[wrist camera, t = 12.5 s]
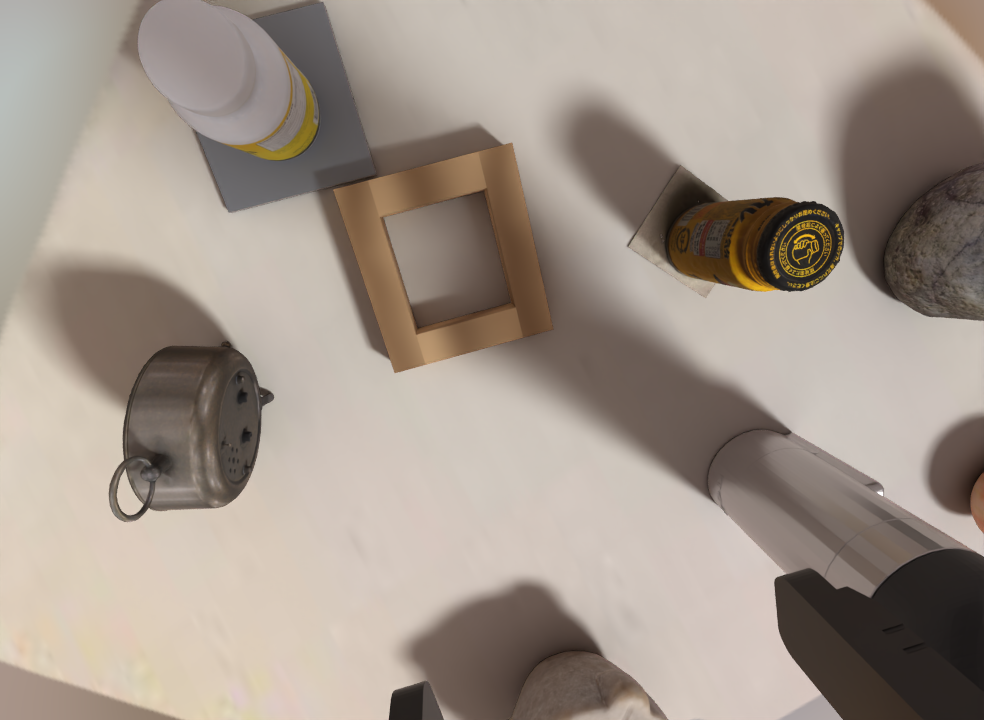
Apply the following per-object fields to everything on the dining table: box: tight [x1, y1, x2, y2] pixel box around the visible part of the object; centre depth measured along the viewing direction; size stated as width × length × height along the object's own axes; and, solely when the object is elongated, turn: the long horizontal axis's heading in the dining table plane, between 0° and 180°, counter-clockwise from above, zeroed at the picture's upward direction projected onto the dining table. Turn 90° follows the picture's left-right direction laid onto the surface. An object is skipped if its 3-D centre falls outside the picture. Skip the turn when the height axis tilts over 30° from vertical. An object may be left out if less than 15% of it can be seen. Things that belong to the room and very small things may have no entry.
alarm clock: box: [109, 342, 274, 522], centre depth 30 cm, size 11×5×16 cm, turn 176°
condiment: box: [628, 166, 844, 298], centre depth 33 cm, size 7×8×12 cm
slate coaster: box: [196, 2, 377, 213], centre depth 33 cm, size 11×11×1 cm
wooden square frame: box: [333, 143, 553, 373], centre depth 36 cm, size 13×14×2 cm
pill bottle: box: [138, 0, 321, 161], centre depth 27 cm, size 6×6×12 cm
